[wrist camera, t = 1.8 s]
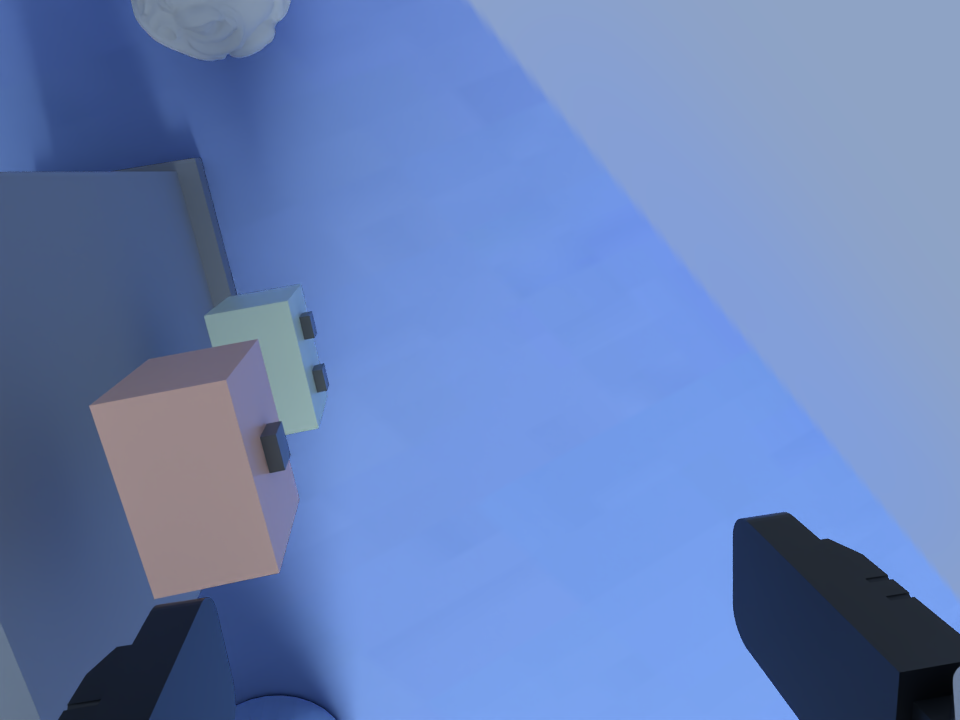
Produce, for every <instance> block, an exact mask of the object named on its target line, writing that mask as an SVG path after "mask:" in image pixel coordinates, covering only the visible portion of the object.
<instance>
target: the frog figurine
mask: <svg viewBox="0 0 960 720" xmlns="http://www.w3.org/2000/svg"><path fill="white" fill-rule="evenodd" d="M131 3H132V8H133V13H134V15H135V18H136V20H137V21H138V23H139V24H140V26H141V27H142V28H143V29H144V30H145V31H146V32H147V34H148V35H149V36H150V37H152V38H153V39H154V40H155V41H157V42H158V43H160V44H162V45H163V46H165V47H168V48H170V49H173V50H175V51H177V52H180V53H182V54H185V55H188V56H190V57H193V58H196V59H199V60H203V61H216V60H223V59H225V58H226V56H227V55H228V54H229V55H230V56H232V57H235V58H244V57H248V56H251V55H253V54H255V53H257V52H259V51H261V50H262V49H263V48H264V47H265V46H266V45H268V44H269V43H271V42H272V40H273V38H274V36H275V26H276V24H277V23H278V22H279V21H281V20H282V19H283V18H284V17H285V15H286V14H287V12H288V9H289V6H290V3H291V0H131Z"/></svg>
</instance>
